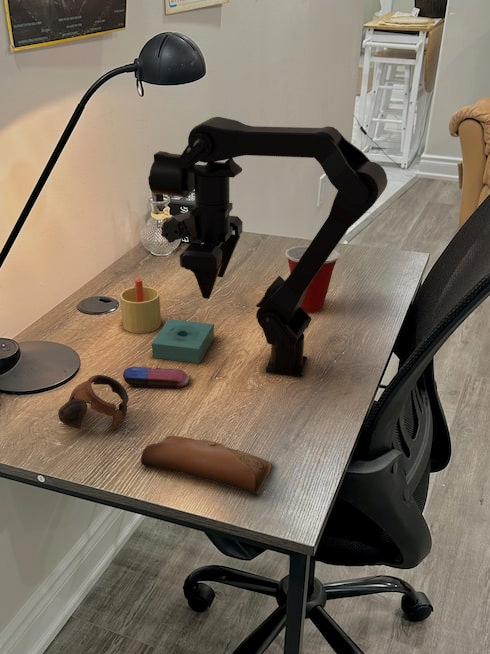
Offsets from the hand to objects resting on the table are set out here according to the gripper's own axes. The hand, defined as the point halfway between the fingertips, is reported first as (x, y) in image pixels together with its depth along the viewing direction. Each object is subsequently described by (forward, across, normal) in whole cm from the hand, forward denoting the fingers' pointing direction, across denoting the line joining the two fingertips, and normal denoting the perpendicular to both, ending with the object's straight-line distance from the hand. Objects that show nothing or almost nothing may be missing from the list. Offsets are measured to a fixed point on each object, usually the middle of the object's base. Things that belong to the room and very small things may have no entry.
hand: (213, 287), depth 127 cm
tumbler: (+13, -7, -17) cm, 23 cm away
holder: (+13, 0, -6) cm, 14 cm away
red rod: (+12, -7, -17) cm, 22 cm away
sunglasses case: (+13, +33, +8) cm, 37 cm away
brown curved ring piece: (+13, +27, -13) cm, 33 cm away
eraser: (+13, +13, -7) cm, 20 cm away
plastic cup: (+13, -23, +14) cm, 30 cm away
